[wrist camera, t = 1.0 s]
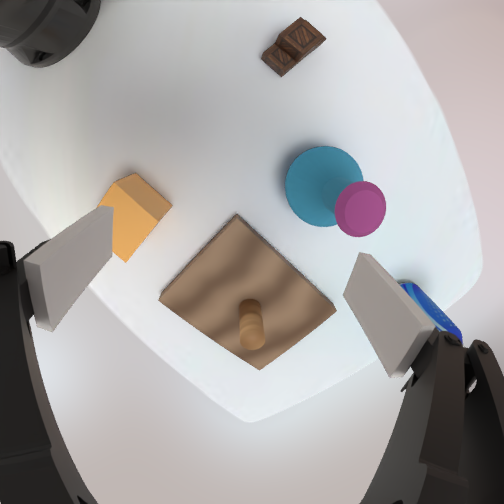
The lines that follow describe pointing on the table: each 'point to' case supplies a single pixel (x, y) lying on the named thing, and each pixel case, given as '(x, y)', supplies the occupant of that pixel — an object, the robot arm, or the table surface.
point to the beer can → (431, 309)
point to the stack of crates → (292, 46)
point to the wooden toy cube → (133, 213)
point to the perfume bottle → (333, 192)
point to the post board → (247, 296)
